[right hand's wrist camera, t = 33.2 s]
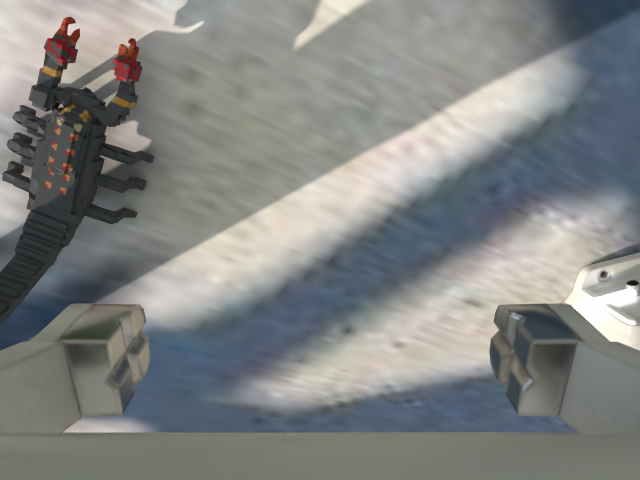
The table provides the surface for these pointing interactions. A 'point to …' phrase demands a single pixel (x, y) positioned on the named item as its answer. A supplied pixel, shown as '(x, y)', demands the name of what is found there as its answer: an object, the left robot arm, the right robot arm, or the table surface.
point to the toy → (65, 162)
